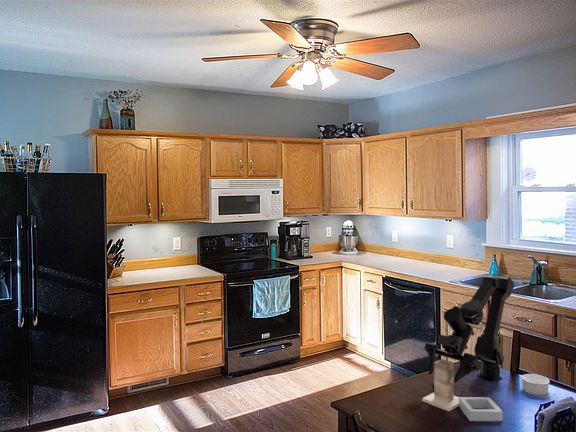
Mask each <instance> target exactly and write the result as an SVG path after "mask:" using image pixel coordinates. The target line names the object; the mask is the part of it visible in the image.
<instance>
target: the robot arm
mask: <svg viewBox="0 0 576 432" xmlns="http://www.w3.org/2000/svg"><path fill="white" fill-rule="evenodd" d="M514 287H515V282H514V280H512V278H511V277H509V276H508V277H507V276H499V275H493V276H489V275H487V276H484V277H483V278H482V282H481V284H480V285H479V287H478V289H477V290H476V292H475V293H474V295H473V296H472V298H471V299H470V300H469V301H466V302H464V303H463V304H462V305H461V306H458V305H457V306H456V305H453V307H452V308H449V309H447V310H446V311H445V312H444V314H443V319H444V320H445V322H446V324H447V325H448V327H449V328H450V329H451V330H452V333H451V334H449V335H445V334H444V335H443V334H439V336H438V340H437V344H436V343H432V342H426V343H425V345H424V347H423V349H424V351H425V352H426V354H427V355H428V356H429V359H428V360H429V363H428V374H429V375H432V374H433V373H434V362H436V361H438V360H440V358H441V359H442V357H445V358H448V359H452V360H456V361H459V367H458V369H457V371H456V373H455V374H454V380H453V382H454V384H456V383H457V382H459V381H460V380H461V379H462V378H464V377H465V376H467V375H469V374H470V373H475V371H476V372H479V371H480V372H479V373H477V374H476V375H477V376H478V377H479V378H482V379H483V380H486V381H488V382H493V381H498V380H502V379H503V377H502V376H501V374H500V373H501V368H500V366H503V364H504V362H505V356H504V354H503V352H502V351H501V344H500V341H499V339H498V337H499V331H500V326H501V321H502V316H503V312H504V306H505V303H506V302H505V301H507V299H508V298H509V297H511V295H512V292H513V290H514ZM489 300H490V302H489V303H490V304H489V307H488V312H487V316H486V322H485V327H484V331H483V334H481V336H477V337H476V343H475V346H474V354H471V353H468V352H465V350H466V351H467V350H468V347H469V346H468V343H469V341H470V339H471V336H475V331H474V328H473V327H472V325H473V326H479V325H480V323H482V321H483V319H484V318H483V317H484V311H483V310H484V308H485V307H486V305H487V303H488V301H489ZM438 345H441V348H442V349H441V348H440V346H438ZM443 349H444V350H443Z"/></svg>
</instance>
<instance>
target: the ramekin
mask: <svg viewBox="0 0 576 432" xmlns="http://www.w3.org/2000/svg"><path fill="white" fill-rule="evenodd" d="M520 378H521V383H522V384H521V385H522V389H523V391H525V392H527V393H529V394H530V395H532V394H533V395H537V396H539V395H540V396H544V395H546V394H548V393H549V386H550V379H549V378H548V377H546V376H543V375H540V374H534V373H526V374H523V375H521V376H520Z"/></svg>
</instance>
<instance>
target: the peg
mask: <svg viewBox="0 0 576 432" xmlns="http://www.w3.org/2000/svg"><path fill="white" fill-rule="evenodd" d="M433 373H434V374H433V386H434V387H433V389H434V390H433V391H434V392H433V393H434V399H437V400H439V401H442V402H444V403H447V402H449V401H451V400H453V399H454V396H455V394H454V393H455V391H454V390H455V389H454V387H455V386H454V385H455V383H454V382H453V380H454V377H455V374H454V373H455V362H453V361H449V360H446V359H443V358H441V359H439V360H438V361H436V362H434V371H433Z"/></svg>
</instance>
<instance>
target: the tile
mask: <svg viewBox="0 0 576 432" xmlns="http://www.w3.org/2000/svg"><path fill="white" fill-rule="evenodd" d="M459 397H460V396H456V395H454V399H453V400H451V401H449V402H447V403H444V402H442V401H439V400H437V399H434V392H432V393H430V394H428V395H426V396H424V397H422V400H421V402H424V403H426V404H429V405H432V406H433V407H436V408H438V409H442V410H443V411H447V412H451V411H452V410H453V411H454V409H456V408H458V407H459Z"/></svg>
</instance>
